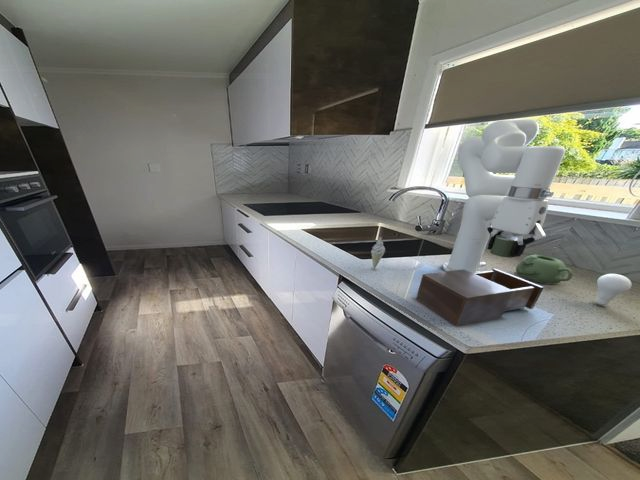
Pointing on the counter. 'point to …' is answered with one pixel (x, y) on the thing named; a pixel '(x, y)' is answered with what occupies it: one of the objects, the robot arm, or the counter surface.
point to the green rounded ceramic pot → (543, 269)
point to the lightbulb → (611, 287)
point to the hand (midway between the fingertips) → (503, 252)
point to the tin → (503, 245)
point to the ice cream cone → (377, 252)
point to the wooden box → (463, 296)
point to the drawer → (515, 288)
